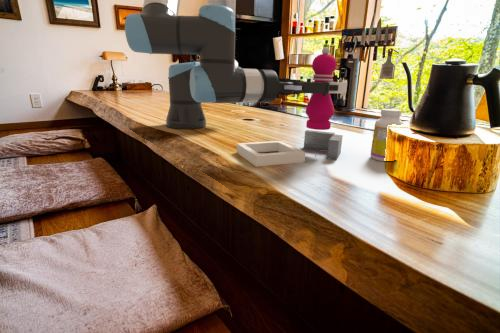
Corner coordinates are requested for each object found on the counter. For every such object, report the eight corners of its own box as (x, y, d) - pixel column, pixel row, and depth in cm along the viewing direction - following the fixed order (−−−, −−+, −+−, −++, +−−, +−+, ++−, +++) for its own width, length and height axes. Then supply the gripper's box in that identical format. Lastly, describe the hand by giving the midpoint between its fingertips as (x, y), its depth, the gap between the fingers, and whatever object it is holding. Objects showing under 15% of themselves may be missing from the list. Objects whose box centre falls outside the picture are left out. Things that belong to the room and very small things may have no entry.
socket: (236, 152, 81) (236, 143, 80) (279, 149, 86) (280, 140, 85) (255, 166, 70) (256, 156, 69) (304, 161, 74) (305, 152, 74)
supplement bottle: (376, 154, 84) (383, 107, 80) (401, 159, 80) (410, 110, 76) (365, 158, 79) (372, 109, 76) (391, 164, 75) (400, 111, 71)
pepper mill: (332, 131, 76) (342, 46, 70) (303, 129, 78) (310, 45, 72) (331, 126, 83) (340, 48, 77) (304, 124, 84) (311, 48, 79)
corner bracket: (300, 147, 89) (301, 130, 88) (321, 145, 92) (323, 129, 91) (331, 160, 76) (333, 141, 75) (354, 158, 79) (356, 139, 78)
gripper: (243, 99, 80) (318, 99, 88) (273, 106, 64) (360, 105, 73) (244, 69, 77) (320, 72, 86) (275, 69, 62) (365, 72, 70)
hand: (338, 87), depth 79 cm, fingers closed on pepper mill, 5 cm apart
